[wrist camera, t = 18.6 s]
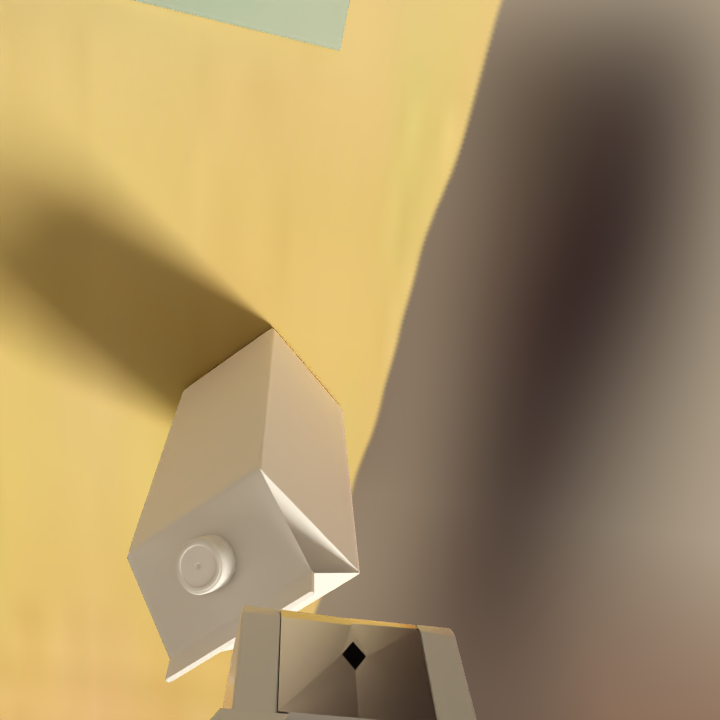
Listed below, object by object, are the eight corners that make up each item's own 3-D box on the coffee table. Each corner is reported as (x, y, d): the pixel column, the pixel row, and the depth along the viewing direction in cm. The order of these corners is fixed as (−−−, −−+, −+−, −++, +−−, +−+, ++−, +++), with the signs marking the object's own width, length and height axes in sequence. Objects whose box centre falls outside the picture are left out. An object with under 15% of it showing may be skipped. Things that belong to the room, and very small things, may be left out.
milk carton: (343, 407, 44) (369, 646, 27) (255, 466, 45) (226, 729, 28) (273, 325, 41) (251, 532, 24) (182, 390, 42) (99, 629, 25)
